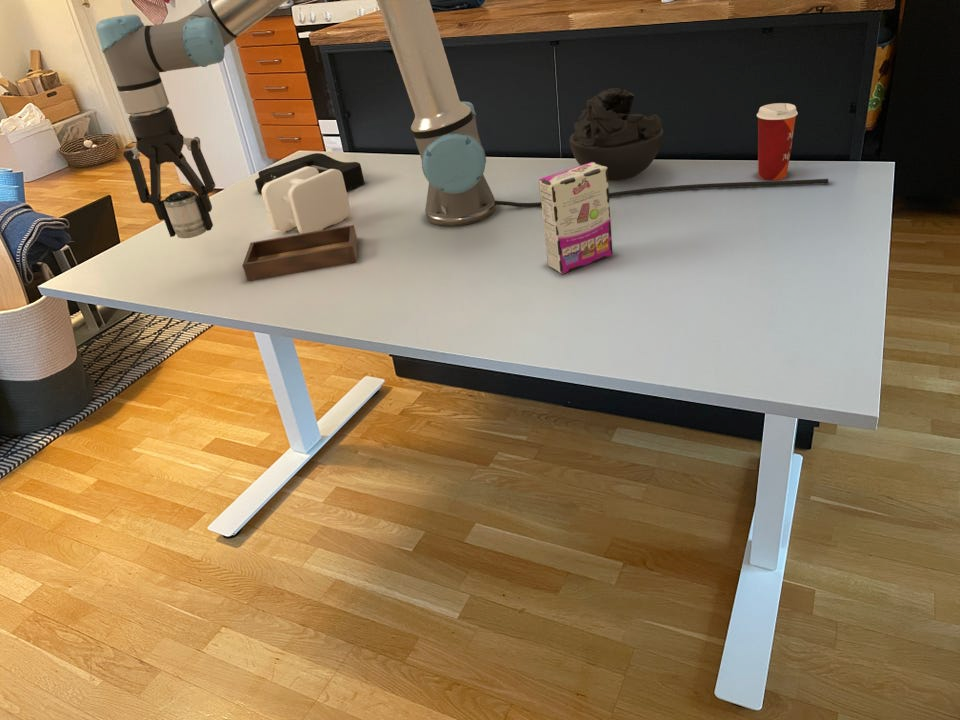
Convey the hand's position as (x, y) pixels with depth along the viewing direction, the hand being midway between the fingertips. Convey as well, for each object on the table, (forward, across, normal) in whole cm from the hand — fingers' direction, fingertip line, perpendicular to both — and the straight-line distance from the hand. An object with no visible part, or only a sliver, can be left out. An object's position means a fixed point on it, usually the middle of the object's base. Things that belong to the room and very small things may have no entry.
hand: (191, 230), depth 145 cm
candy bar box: (+10, -71, +23) cm, 75 cm away
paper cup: (+10, -118, -2) cm, 119 cm away
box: (+10, -20, 0) cm, 22 cm away
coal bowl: (+10, -89, -16) cm, 91 cm away
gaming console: (+10, -18, -47) cm, 51 cm away
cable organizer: (+10, -20, -19) cm, 29 cm away
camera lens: (+1, 0, 0) cm, 1 cm away
